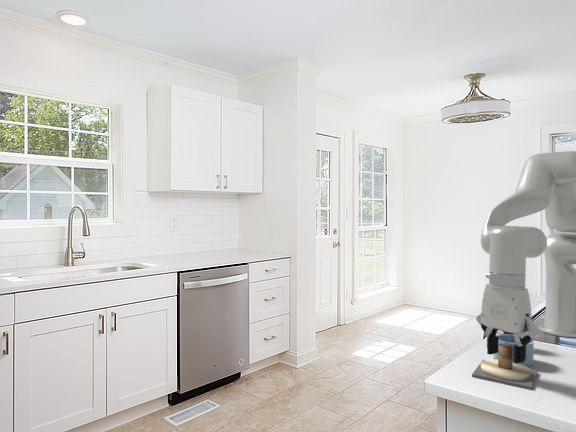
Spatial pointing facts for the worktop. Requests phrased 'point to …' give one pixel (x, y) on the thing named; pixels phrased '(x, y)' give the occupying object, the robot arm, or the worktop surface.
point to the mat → (523, 384)
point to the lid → (505, 366)
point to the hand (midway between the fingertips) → (505, 357)
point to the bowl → (511, 341)
